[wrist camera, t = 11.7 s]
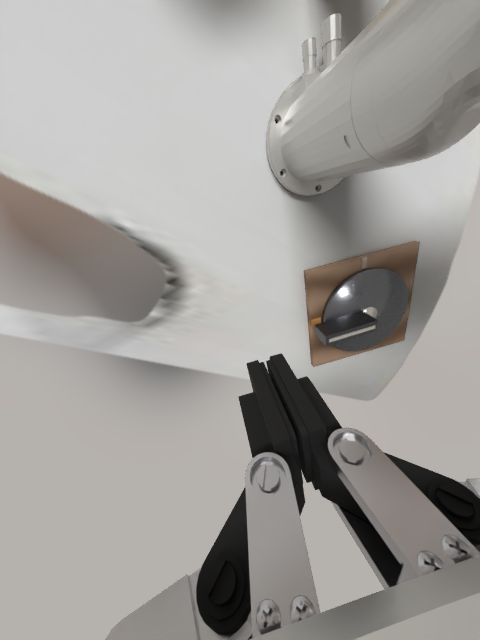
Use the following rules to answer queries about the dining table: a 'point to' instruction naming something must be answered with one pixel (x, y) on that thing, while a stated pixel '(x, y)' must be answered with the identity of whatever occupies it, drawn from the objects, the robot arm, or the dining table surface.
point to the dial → (363, 310)
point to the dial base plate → (331, 275)
